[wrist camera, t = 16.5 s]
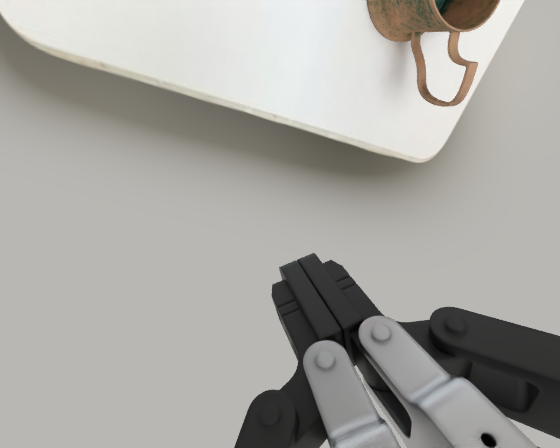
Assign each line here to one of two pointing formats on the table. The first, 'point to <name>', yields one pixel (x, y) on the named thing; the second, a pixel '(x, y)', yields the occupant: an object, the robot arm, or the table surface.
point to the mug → (432, 18)
